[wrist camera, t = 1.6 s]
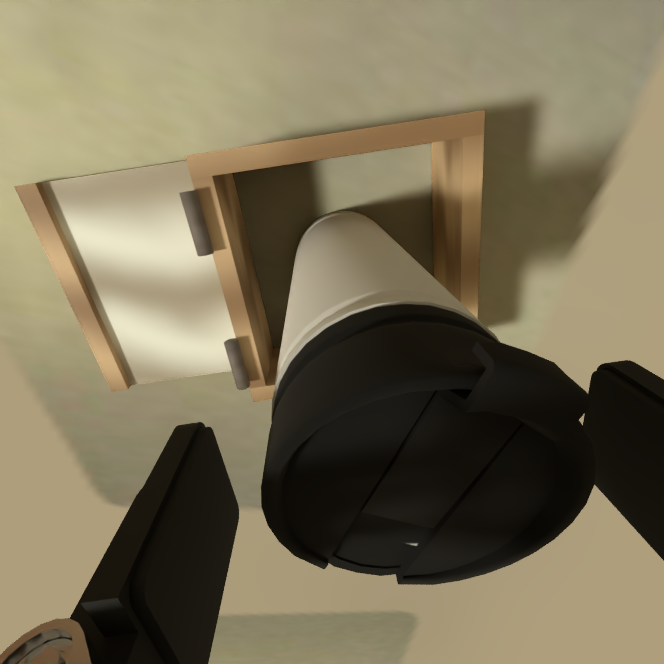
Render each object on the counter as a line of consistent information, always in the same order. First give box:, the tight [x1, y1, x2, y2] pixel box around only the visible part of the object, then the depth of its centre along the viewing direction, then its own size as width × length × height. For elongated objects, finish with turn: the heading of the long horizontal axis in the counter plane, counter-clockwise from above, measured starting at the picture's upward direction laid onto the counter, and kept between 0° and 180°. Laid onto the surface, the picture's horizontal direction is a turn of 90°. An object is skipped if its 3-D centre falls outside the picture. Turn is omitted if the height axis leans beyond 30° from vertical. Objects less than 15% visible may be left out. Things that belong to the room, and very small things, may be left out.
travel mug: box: [261, 211, 597, 585], centre depth 15 cm, size 6×7×20 cm
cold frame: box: [14, 110, 485, 402], centre depth 22 cm, size 14×25×6 cm, turn 98°
